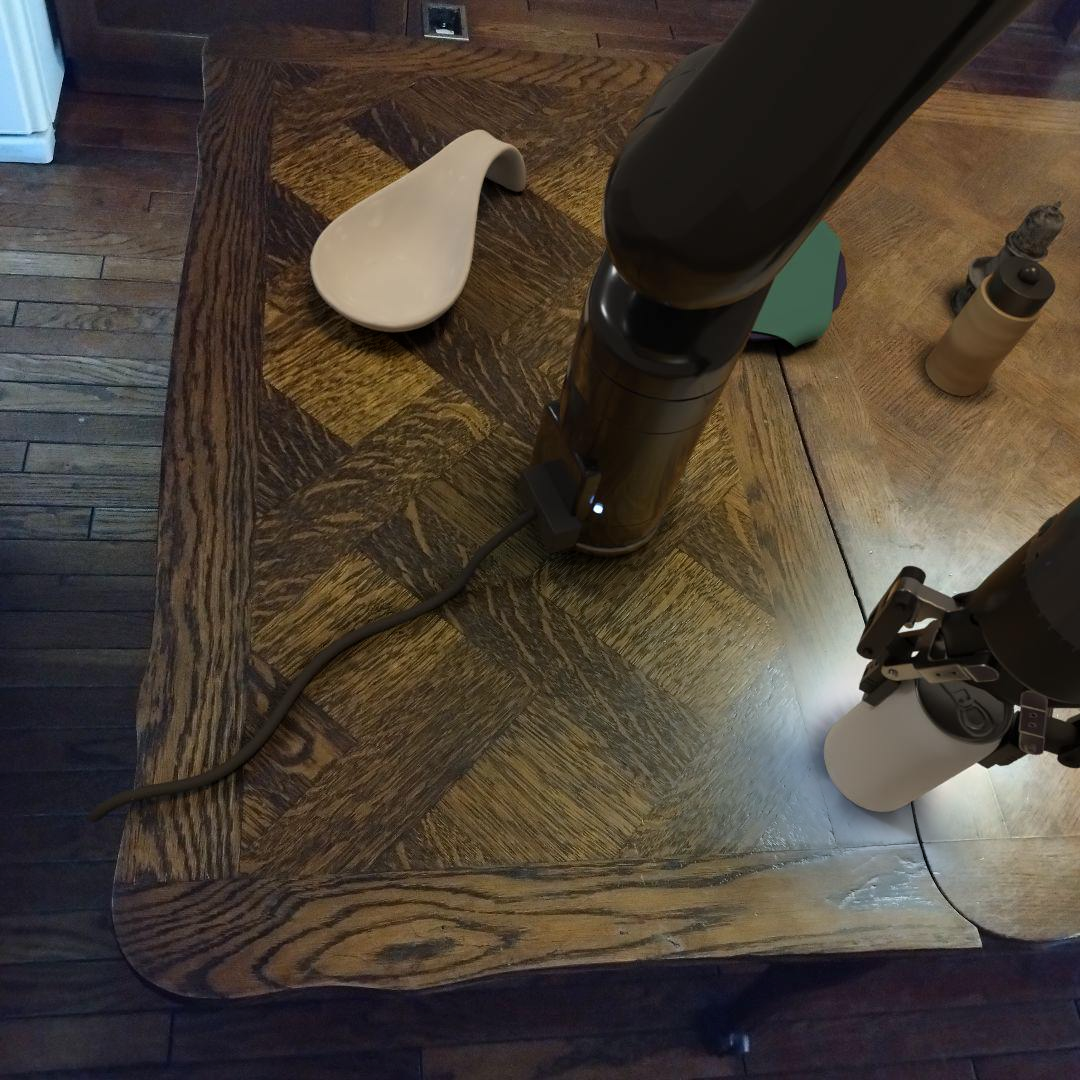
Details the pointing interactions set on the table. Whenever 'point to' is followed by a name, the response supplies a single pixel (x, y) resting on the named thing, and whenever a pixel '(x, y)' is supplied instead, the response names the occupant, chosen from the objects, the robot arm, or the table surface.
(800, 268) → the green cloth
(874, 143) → the robot arm
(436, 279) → the spoon rest
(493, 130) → the table surface
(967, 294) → the ornate chess piece
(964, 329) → the pepper mill
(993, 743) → the can
